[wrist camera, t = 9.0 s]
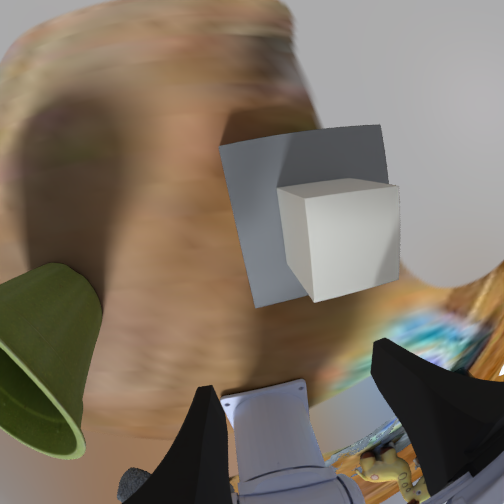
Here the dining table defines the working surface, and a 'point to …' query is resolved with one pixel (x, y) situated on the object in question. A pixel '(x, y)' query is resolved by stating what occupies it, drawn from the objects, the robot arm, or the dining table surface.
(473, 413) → the robot arm
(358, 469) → the stuffed giraffe
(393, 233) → the cream block
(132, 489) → the koala plush
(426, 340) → the dining table surface
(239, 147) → the slate slab
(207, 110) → the dining table surface
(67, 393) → the plant pot
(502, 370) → the champagne flute
